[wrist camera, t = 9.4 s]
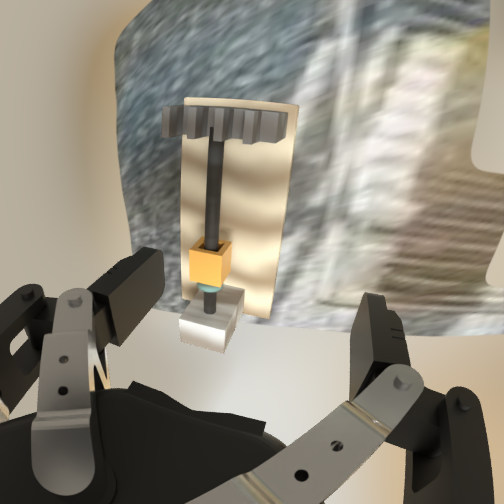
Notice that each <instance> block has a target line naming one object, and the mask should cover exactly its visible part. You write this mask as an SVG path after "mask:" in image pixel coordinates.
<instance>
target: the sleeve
mask: <svg viewBox="0 0 504 504" xmlns="http://www.w3.org/2000/svg"><path fill="white" fill-rule="evenodd" d="M204 239H205V237H204V236H202V237H201V238H200V239H199V240H198V241H197V242H196V243H195V244H194V245H193V246H192V247H191V248H190V249H189V276H190V281H194V282H199V283H203V284H207V285H212V286H216V287H221V286H222V284H223V283H224V281H225V279H226V278H227V276H228V274H229V273H230V271H231V255H232V242H231V241H225V240H220V239H219V246H218V252H214V251H209V250H204Z"/></svg>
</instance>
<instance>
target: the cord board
mask: <svg viewBox="0 0 504 504" xmlns="http://www.w3.org/2000/svg"><path fill="white" fill-rule="evenodd" d="M298 113H299V106H298V105H290V104H282V103H273V102H263V101H252V100H239V99H221V98H185V99H184V105H181V106H164V107H163V109H162V132H161V138H170V137H174V136H179V135H182V159H181V276H182V299H186V300H190V301H191V302H190V304H189V305H188V306H187V308H186V309H185V311H184V312H183V314H182V315H181V317H180V318H179V326H180V339H181V342H184V343H187V344H191V345H194V346H198V347H202V348H205V349H209V350H212V351H216V352H220V353H224V352H225V350H226V348H227V346H228V343H229V341H230V339H231V337H232V335H233V332H234V330H235V328H236V325H237V323H238V321H239V319H240V317H241V315H242V313H244V314H248V315H253V316H257V317H262V318H267V319H269V317H270V314H271V309H272V302H273V296H274V290H275V283H276V277H277V270H278V263H279V257H280V250H281V243H282V236H283V229H284V222H285V215H286V208H287V200H288V193H289V185H290V178H291V170H292V162H293V154H294V146H295V138H296V130H297V122H298ZM202 236H204V237H205V239H204V250H209V251H214V252H218V246H219V239H220V240H225V241H231V242H232V255H231V271H230V273H229V274H228V276H227V278H226V279H225V281H224V283H223V284H222V286H221V287H216V286H212V285H207V284H203V283H199V282H194V281H190V276H189V249H190V248H191V247H192V246H193V245H194V244H195V243H196V242H197V241H198V240H199V239H200V238H201V237H202Z"/></svg>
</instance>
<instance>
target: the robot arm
mask: <svg viewBox="0 0 504 504" xmlns="http://www.w3.org/2000/svg"><path fill="white" fill-rule="evenodd" d="M164 287H165V278H164V261H163V253H162V251H161V250H158V249H153V248H148V247H143V248H141V249H140V250H139V251H138V252H136V253H135V254H134V255H133V256H129V257H127V258H124V259H122V260H120V261H119V262H118V263H116V264H115V265H114V266H113V268H110V269H109V270H108V271H107V273H105V274H103V276H101V277H100V278H99V279H98V280H96V281H95V282H94V283H93V284H92V285H91V286H89V287H88V288H87V289H83V288H74V289H70V290H68V291H65V292H64V293H62V294H61V295H60V296H59V298H50V297H45V295H44V292H43V289H42V287H41V286H40V285H38V284H28V285H25V286H22V287H20V288H19V289H17V290H16V291H15V292H14V293H13V294H11V295H10V296H9V297H8V298H7V299H6V300H5V301H3V302H2V303H1V304H0V504H325V503H324V500H325V499H327V498H328V497H329V496H330V495H331V494H333V493H334V492H335V491H336V490H337V489H338V488H339V487H340V486H341V485H342V484H343V483H344V482H345V481H346V480H347V479H348V478H350V476H352V474H354V473H355V472H356V471H357V470H358V468H360V466H362V464H363V463H364V462H365V461H366V460H367V459H368V458H369V457H370V456H371V455H372V454H373V453H374V452H375V451H376V450H377V449H378V447H379V446H380V445H381V444H382V443H383V442H384V441H385V442H387V443H390V444H393V445H395V446H398V447H401V448H404V449H406V467H405V487H404V488H405V489H404V501H403V504H494V489H493V477H492V467H491V459H490V452H489V445H488V440H487V433H486V428H485V423H484V418H483V413H482V408H481V404H480V401H479V399H478V397H477V396H476V395H475V394H474V393H473V392H472V391H471V390H469V389H467V388H464V387H453V388H452V389H450V390H449V391H448V392H447V394H446V395H444V394H441V393H439V392H436V391H433V390H430V389H428V388H426V387H425V386H424V382H423V379H422V377H421V375H420V374H419V373H418V372H417V371H416V370H415V369H413V368H412V367H411V364H410V359H409V354H408V349H407V344H406V340H405V334H404V332H403V326H402V321H401V319H400V318H399V317H398V315H397V314H396V313H395V311H392V310H387V306H386V301H385V297H384V296H383V295H378V294H372V293H367V292H365V293H364V295H363V297H362V300H361V303H360V306H359V309H358V312H357V315H356V317H355V320H354V323H353V326H352V330H351V335H350V393H349V401H345V402H343V403H342V404H341V405H340V406H338V407H337V408H336V409H335V410H334V411H333V412H331V413H330V414H329V415H328V416H326V417H325V418H324V419H323V420H322V421H320V422H319V423H318V424H317V425H315V426H314V427H313V428H311V429H310V430H309V431H308V432H307V433H305V434H304V435H302V436H301V437H300V438H298V439H297V440H296V441H295V442H293V443H292V444H290V445H289V446H286V445H285V444H284V443H282V442H281V441H280V440H278V439H277V438H275V437H274V436H272V435H270V434H268V433H266V432H264V428H265V424H266V422H264V421H259V420H255V419H251V418H247V417H243V416H239V415H235V414H231V413H217V412H203V411H195V410H191V409H189V408H187V407H185V406H184V405H182V404H180V403H179V402H177V401H176V400H174V399H173V398H171V397H169V396H168V395H166V394H165V393H163V392H161V391H158V390H156V389H153V388H150V387H148V386H145V385H143V384H140V383H137V382H135V381H133V382H132V383H131V385H130V386H129V388H128V389H122V388H113V389H112V388H111V385H110V377H109V368H108V358H107V350H106V345H107V344H108V343H112V344H114V345H117V346H119V347H120V346H121V345H122V343H123V342H124V341H125V340H126V339H127V337H128V336H129V335H130V334H131V332H132V331H133V330H134V329H135V327H136V326H137V325H138V324H139V323H140V321H141V320H142V319H143V318H144V317H145V315H146V314H147V313H148V312H149V311H150V309H151V308H152V307H153V306H154V305H155V303H156V302H157V301H158V300H159V299H160V297H161V296H162V294H163V291H164ZM23 328H24V329H25V332H26V334H27V336H28V340H27V341H26V342H25V343H24V344H23V345H22V346H21V347H20V348H19V349H18V351H16V353H15V354H14V355H13V356H12V355H11V353H10V343H11V341H12V340H13V339H14V338H15V337H16V336H17V335H18V333H19V332H21V331H22V330H23ZM38 377H39V386H38V404H37V412H35V413H32V414H28V415H25V416H22V417H18V418H15V419H12V420H9V415H10V413H11V412H12V411H13V409H14V408H15V407H16V405H17V404H18V403H19V401H20V400H21V399H22V398H23V396H24V395H25V394H26V392H27V391H28V389H29V388H30V387H31V386H32V384H33V383H34V382H35V381H36V380H37V378H38Z"/></svg>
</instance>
